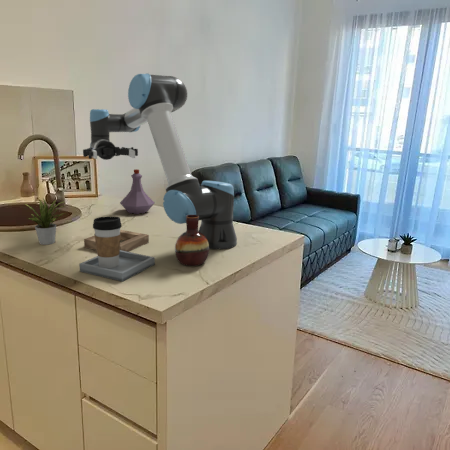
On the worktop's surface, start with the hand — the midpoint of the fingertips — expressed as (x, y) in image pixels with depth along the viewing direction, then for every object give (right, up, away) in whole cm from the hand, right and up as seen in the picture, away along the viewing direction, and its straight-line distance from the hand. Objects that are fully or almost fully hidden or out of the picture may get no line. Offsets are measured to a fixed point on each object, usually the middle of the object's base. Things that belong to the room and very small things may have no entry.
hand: (115, 154), depth 154 cm
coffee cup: (+4, -38, -22) cm, 44 cm away
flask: (-2, -19, +50) cm, 53 cm away
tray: (+6, -39, -22) cm, 45 cm away
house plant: (-23, -32, 0) cm, 40 cm away
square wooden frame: (+1, -32, 0) cm, 33 cm away
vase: (+29, -38, -15) cm, 50 cm away
